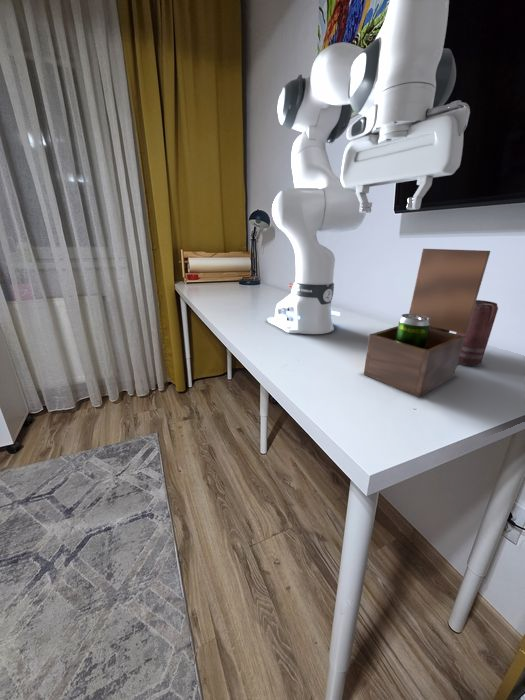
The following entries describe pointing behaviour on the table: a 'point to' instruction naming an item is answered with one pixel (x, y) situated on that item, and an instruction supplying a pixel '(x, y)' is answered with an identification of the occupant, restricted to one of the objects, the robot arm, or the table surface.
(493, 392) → the table surface
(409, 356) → the chest
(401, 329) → the beer can
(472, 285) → the lid
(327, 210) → the robot arm
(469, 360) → the can
